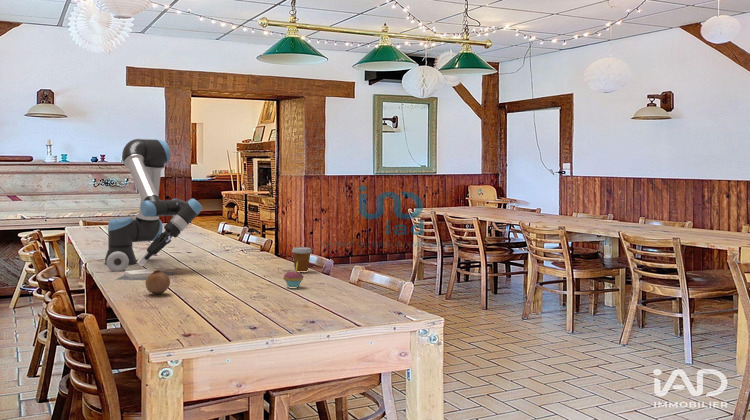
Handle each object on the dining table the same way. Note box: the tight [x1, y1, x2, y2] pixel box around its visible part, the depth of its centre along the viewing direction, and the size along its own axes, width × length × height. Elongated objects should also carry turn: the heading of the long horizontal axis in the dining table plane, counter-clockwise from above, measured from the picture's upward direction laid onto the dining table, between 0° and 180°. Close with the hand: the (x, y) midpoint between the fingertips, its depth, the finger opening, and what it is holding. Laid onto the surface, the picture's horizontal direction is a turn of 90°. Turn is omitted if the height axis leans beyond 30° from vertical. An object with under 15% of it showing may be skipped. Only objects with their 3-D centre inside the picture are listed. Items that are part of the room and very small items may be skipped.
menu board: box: [123, 268, 155, 279], centre depth 315 cm, size 2×10×11 cm
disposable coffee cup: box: [291, 246, 312, 271], centre depth 340 cm, size 10×10×12 cm
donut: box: [106, 251, 129, 272], centre depth 327 cm, size 10×4×10 cm, turn 114°
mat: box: [115, 271, 175, 281], centre depth 316 cm, size 22×20×1 cm
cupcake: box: [283, 261, 304, 287], centre depth 298 cm, size 9×8×12 cm
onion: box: [145, 269, 171, 295], centre depth 276 cm, size 10×9×10 cm
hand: (139, 264), depth 314 cm, fingers closed
